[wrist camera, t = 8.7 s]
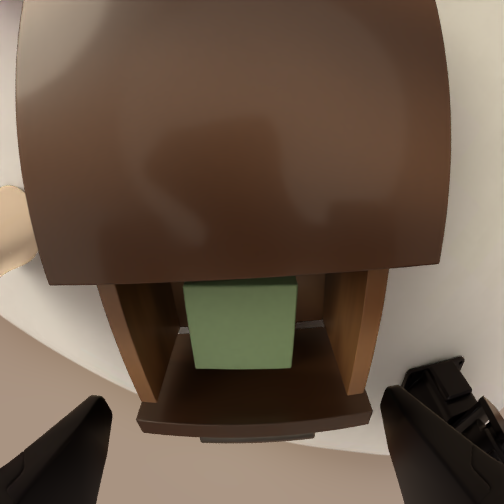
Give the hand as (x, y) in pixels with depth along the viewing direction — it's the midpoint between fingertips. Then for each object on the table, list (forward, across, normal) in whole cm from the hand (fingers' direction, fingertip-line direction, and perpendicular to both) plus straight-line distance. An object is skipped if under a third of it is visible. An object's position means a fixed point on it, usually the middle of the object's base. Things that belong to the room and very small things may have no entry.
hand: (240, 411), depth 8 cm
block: (+9, 0, 0) cm, 9 cm away
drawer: (+10, 0, +1) cm, 10 cm away
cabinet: (+11, 0, -11) cm, 15 cm away
